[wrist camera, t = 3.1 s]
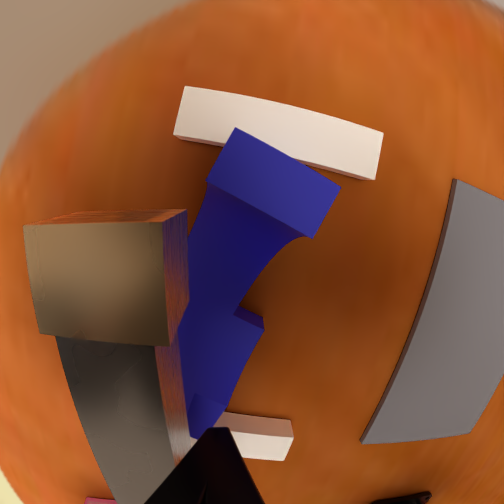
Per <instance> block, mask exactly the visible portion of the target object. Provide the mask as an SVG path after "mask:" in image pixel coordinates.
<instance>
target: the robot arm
mask: <svg viewBox="0 0 504 504" xmlns="http://www.w3.org/2000/svg"><path fill="white" fill-rule="evenodd" d="M431 497H432V494H431V493H430V492H427V493H422V494H417V495H412V496H407V497H402V498H396V499H390V500H383V501H377V502H374V503H372V504H425V503H426V502H427V501H428V500H429V499H430V498H431ZM144 504H265V503H264V501H263V499H262V497H261V495H260V493H259V491H258V489H257V487H256V485H255V483H254V481H253V479H252V477H251V474H250V472H249V470H248V468H247V466H246V464H245V462H244V460H243V458H242V455H241V453H240V451H239V449H238V447H237V445H236V442H235V440H234V438H233V436H232V433H231V431H230V429H229V428H228V427H209V428H207V429H206V430H205V431H204V433H203V434H202V435H201V436H200V438H199V439H198V440H197V441H196V443H195V444H194V445H193V446H192V448H191V449H190V450H189V451H188V452H187V454H186V455H185V456H184V457H183V459H182V460H181V461H180V462H179V463H178V465H177V466H176V467H175V468H174V469H173V470H172V472H171V473H170V474H169V475H168V476H167V478H166V479H165V480H164V481H163V482H162V483H161V485H160V486H159V487H158V488H157V489H156V490H155V491H154V493H153V494H152V495H151V496H150V497H149V498H148V499H147V500H146V502H145V503H144Z"/></svg>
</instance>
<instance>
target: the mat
mask: <svg viewBox="0 0 504 504" xmlns="http://www.w3.org/2000/svg"><path fill="white" fill-rule="evenodd" d="M503 374H504V201H503V200H501V199H499V198H497V197H495V196H493V195H490V194H488V193H486V192H484V191H482V190H480V189H478V188H476V187H473V186H471V185H469V184H467V183H464V182H462V181H460V180H458V179H453V182H452V187H451V192H450V198H449V202H448V207H447V212H446V216H445V221H444V225H443V229H442V233H441V237H440V241H439V245H438V249H437V252H436V256H435V260H434V263H433V267H432V270H431V273H430V277H429V280H428V283H427V286H426V289H425V292H424V295H423V298H422V301H421V304H420V307H419V310H418V313H417V316H416V318H415V321H414V324H413V326H412V329H411V332H410V334H409V337H408V339H407V342H406V344H405V347H404V349H403V352H402V354H401V357H400V359H399V361H398V364H397V366H396V368H395V371H394V373H393V375H392V377H391V379H390V382H389V384H388V386H387V388H386V390H385V392H384V394H383V397H382V399H381V401H380V403H379V405H378V407H377V409H376V411H375V413H374V415H373V416H372V418H371V420H370V422H369V424H368V426H367V428H366V430H365V432H364V433H363V435H362V437H361V439H360V442H361V444H380V443H396V442H408V441H419V440H428V439H436V438H443V437H450V436H456V435H462V434H468V433H470V432H471V430H472V429H473V427H474V426H475V424H476V422H477V421H478V419H479V418H480V416H481V414H482V413H483V411H484V409H485V407H486V406H487V404H488V402H489V400H490V399H491V397H492V395H493V393H494V391H495V390H496V388H497V386H498V384H499V382H500V380H501V378H502V376H503Z"/></svg>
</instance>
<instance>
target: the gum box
mask: <svg viewBox="0 0 504 504" xmlns="http://www.w3.org/2000/svg"><path fill="white" fill-rule="evenodd" d="M84 504H117V502H116V500H107V499H97V498H90V497H87V498H86V500H85V503H84Z"/></svg>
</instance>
